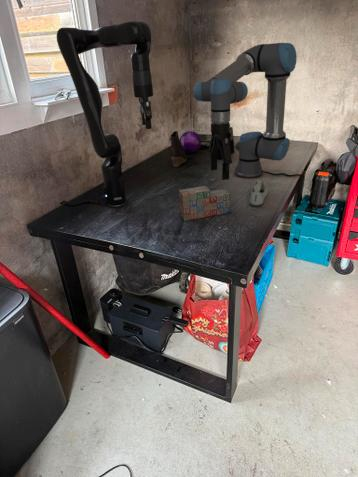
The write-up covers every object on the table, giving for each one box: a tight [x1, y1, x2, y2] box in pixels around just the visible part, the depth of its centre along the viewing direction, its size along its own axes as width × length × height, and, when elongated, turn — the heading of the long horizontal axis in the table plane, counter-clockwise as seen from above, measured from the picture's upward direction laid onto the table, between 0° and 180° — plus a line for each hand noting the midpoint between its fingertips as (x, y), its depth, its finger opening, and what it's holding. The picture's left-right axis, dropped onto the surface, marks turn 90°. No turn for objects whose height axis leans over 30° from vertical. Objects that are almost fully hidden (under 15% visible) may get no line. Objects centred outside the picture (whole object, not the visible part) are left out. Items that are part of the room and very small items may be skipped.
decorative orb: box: [179, 130, 202, 154], centre depth 230 cm, size 15×15×15 cm
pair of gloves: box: [199, 134, 211, 149], centre depth 251 cm, size 30×26×5 cm
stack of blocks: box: [178, 185, 231, 222], centre depth 144 cm, size 21×6×12 cm, turn 105°
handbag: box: [215, 126, 235, 160], centre depth 218 cm, size 21×9×25 cm, turn 148°
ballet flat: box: [249, 179, 269, 207], centre depth 158 cm, size 8×24×8 cm, turn 163°
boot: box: [169, 130, 188, 168], centre depth 211 cm, size 9×24×20 cm, turn 168°
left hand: (146, 126), depth 135 cm, fingers open, 8 cm apart
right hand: (219, 174), depth 140 cm, fingers open, 13 cm apart
